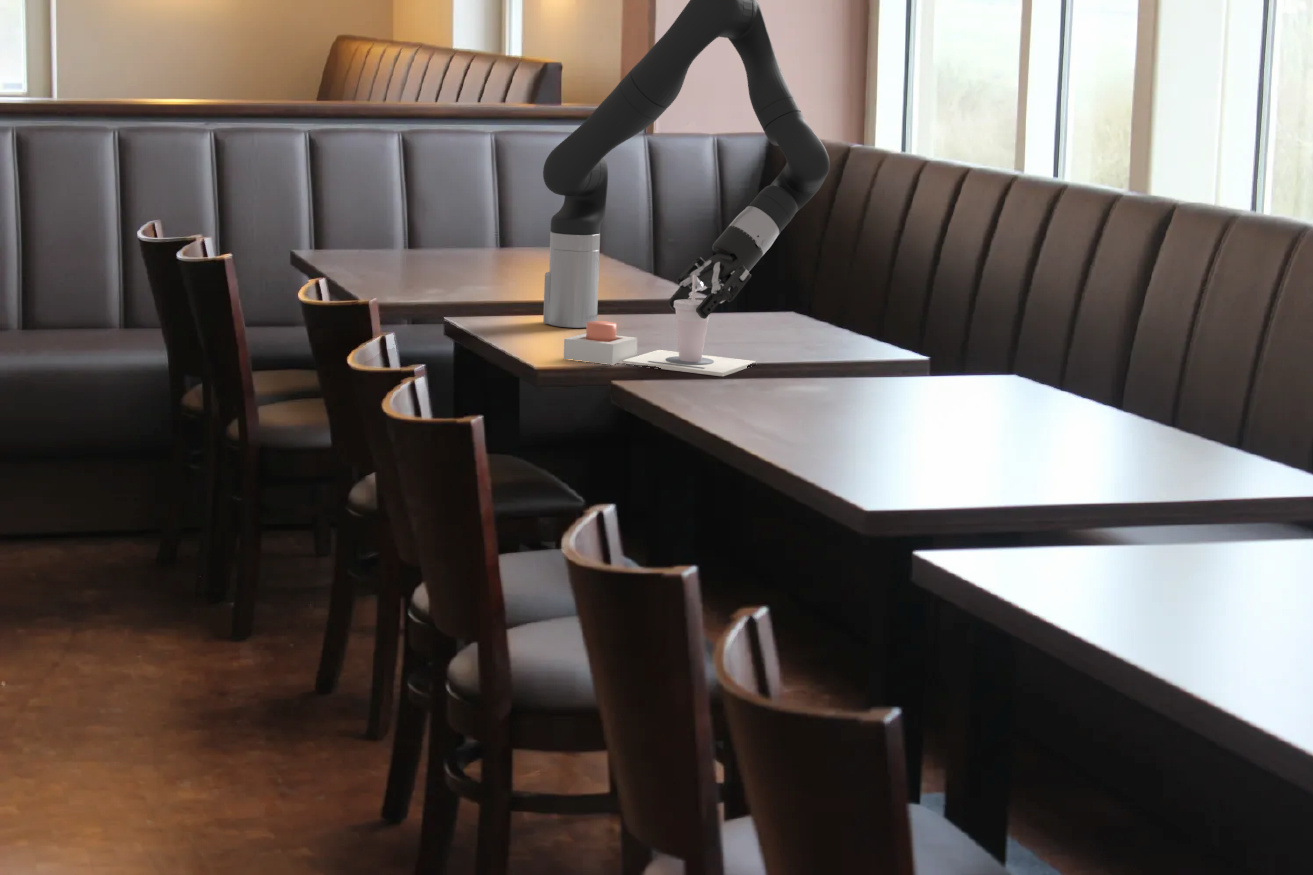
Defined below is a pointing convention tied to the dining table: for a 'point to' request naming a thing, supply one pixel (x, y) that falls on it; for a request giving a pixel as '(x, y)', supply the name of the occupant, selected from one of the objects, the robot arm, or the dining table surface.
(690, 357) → the smoothie
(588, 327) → the button
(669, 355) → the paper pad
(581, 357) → the button housing
